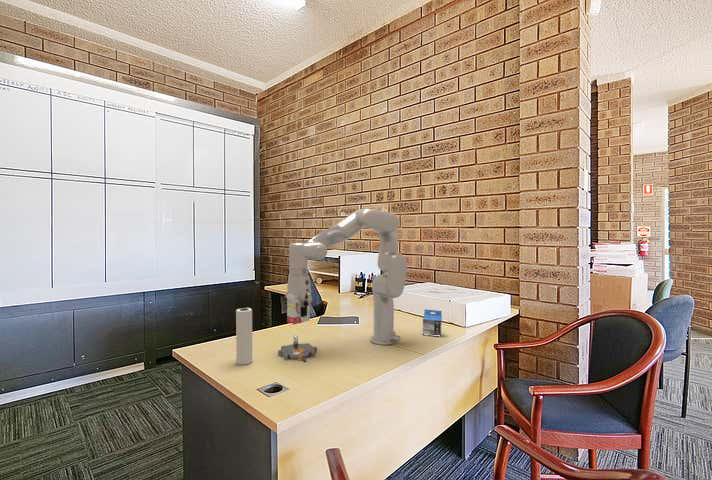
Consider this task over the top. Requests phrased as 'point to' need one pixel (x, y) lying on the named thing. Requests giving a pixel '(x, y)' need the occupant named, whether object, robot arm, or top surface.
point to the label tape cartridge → (432, 322)
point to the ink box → (296, 310)
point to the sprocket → (297, 351)
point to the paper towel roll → (244, 336)
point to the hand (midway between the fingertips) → (298, 314)
